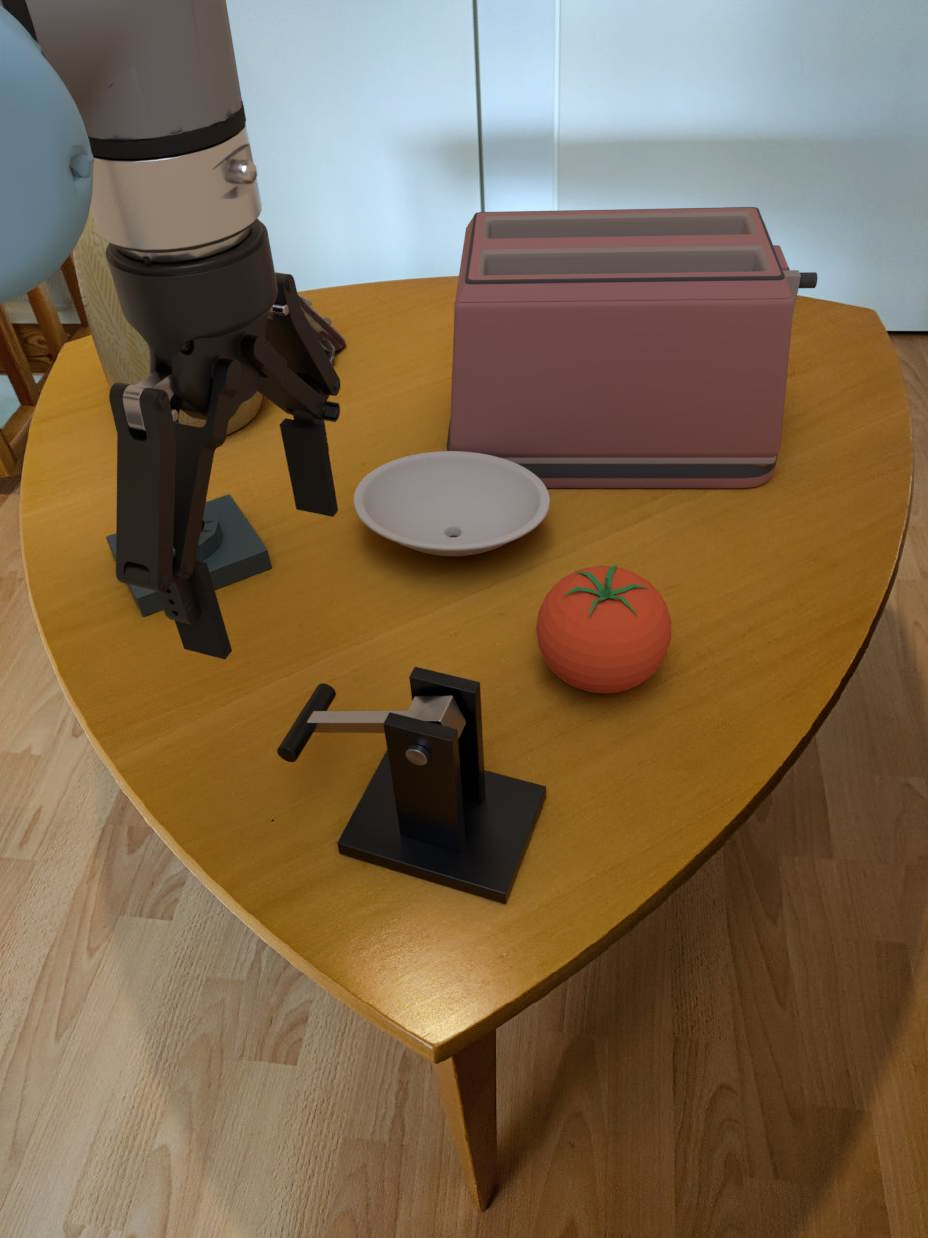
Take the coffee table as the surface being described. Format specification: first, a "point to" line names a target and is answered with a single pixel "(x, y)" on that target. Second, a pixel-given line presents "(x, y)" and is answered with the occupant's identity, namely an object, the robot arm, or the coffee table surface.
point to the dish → (451, 502)
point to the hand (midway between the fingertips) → (266, 575)
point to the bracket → (444, 801)
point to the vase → (124, 326)
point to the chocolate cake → (322, 329)
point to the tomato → (603, 629)
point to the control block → (215, 551)
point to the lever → (361, 719)
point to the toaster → (624, 346)
